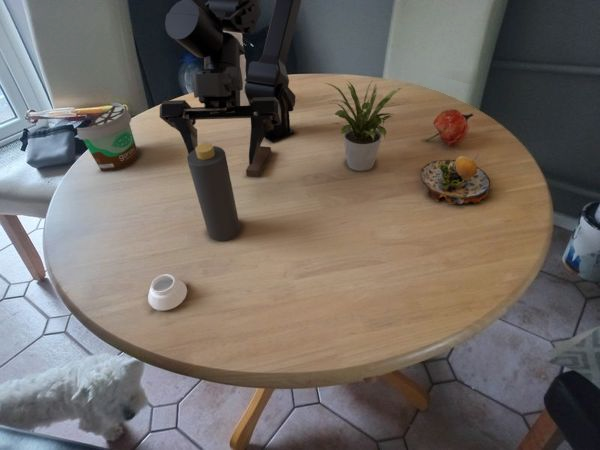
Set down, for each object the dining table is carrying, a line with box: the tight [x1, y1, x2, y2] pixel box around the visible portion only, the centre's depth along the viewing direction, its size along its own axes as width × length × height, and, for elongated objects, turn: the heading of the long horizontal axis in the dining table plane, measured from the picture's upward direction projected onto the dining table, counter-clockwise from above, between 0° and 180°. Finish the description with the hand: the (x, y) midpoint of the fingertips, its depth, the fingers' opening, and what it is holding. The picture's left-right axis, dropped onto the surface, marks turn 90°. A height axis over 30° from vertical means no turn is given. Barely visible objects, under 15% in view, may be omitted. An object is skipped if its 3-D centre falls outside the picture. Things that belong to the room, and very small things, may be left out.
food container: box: [76, 102, 139, 172], centre depth 75 cm, size 12×6×10 cm, turn 168°
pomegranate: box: [425, 108, 474, 147], centre depth 76 cm, size 7×7×10 cm
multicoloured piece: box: [420, 155, 491, 206], centre depth 64 cm, size 12×12×8 cm
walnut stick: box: [245, 145, 272, 178], centre depth 74 cm, size 9×2×2 cm, turn 167°
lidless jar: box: [147, 273, 188, 311], centre depth 49 cm, size 5×3×5 cm
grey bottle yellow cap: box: [186, 142, 241, 242], centre depth 55 cm, size 5×5×15 cm
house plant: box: [324, 79, 403, 172], centre depth 68 cm, size 14×14×16 cm
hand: (222, 165), depth 60 cm, fingers open, 9 cm apart
